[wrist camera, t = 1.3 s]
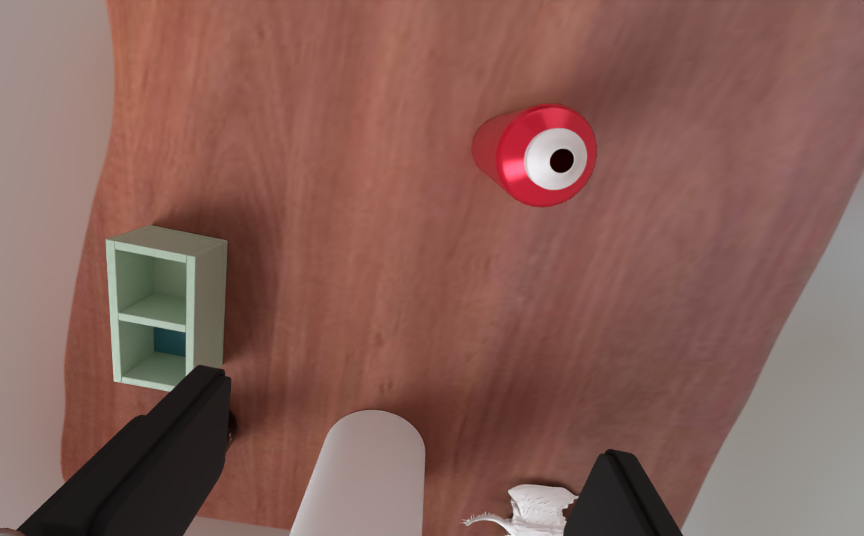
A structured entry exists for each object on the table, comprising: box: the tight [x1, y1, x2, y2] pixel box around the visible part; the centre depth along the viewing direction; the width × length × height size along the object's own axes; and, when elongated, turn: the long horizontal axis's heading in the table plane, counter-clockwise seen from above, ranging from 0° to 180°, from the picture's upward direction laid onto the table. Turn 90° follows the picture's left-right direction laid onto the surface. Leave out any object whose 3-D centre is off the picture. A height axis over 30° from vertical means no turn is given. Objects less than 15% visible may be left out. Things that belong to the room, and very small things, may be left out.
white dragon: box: [465, 484, 579, 536], centre depth 50 cm, size 18×10×4 cm, turn 79°
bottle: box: [472, 103, 597, 207], centre depth 28 cm, size 6×6×20 cm
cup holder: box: [106, 225, 228, 391], centre depth 41 cm, size 8×15×6 cm, turn 168°
